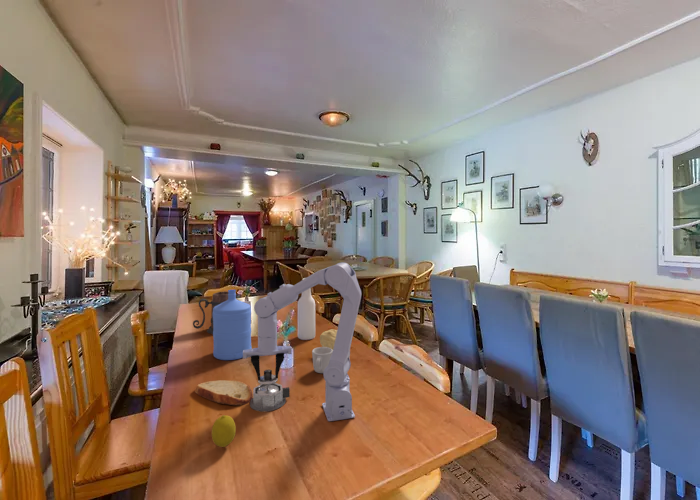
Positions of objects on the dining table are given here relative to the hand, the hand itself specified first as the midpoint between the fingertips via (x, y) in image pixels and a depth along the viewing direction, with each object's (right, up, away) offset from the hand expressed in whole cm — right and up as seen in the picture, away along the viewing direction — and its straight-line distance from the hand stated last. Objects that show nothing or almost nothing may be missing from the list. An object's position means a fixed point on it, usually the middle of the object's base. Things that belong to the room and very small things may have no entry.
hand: (267, 378), depth 101 cm
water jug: (-25, -6, +40) cm, 48 cm away
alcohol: (+4, -4, +63) cm, 63 cm away
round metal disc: (0, -8, 0) cm, 8 cm away
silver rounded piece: (0, -4, 0) cm, 4 cm away
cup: (+15, -7, +22) cm, 27 cm away
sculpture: (+19, -6, +41) cm, 45 cm away
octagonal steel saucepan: (+1, -7, +1) cm, 7 cm away
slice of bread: (-16, -8, +5) cm, 18 cm away
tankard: (-46, -4, +74) cm, 87 cm away
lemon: (-6, -9, -21) cm, 23 cm away
